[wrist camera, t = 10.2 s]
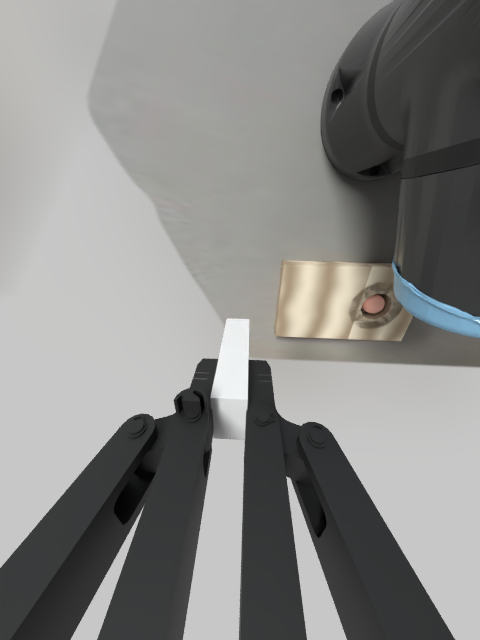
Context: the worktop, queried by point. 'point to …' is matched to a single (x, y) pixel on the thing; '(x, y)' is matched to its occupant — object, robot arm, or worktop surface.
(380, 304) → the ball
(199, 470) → the robot arm
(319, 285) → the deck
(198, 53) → the worktop surface
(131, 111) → the worktop surface
